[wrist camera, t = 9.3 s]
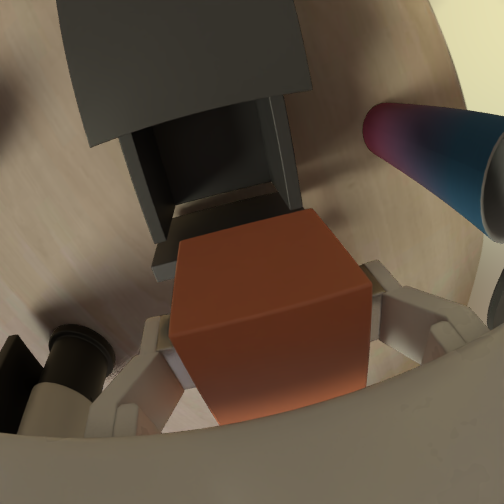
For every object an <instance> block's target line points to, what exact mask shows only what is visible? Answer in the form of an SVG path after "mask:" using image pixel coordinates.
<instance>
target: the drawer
mask: <svg viewBox="0 0 504 504" xmlns="http://www.w3.org/2000/svg"><path fill="white" fill-rule="evenodd" d="M118 138H119V142H120V145H121V148H122V152H123V155H124V158H125V161H126V164H127V167H128V170H129V174H130V177H131V180H132V183H133V186H134V189H135V191H136V194H137V197H138V200H139V203H140V206H141V209H142V212H143V214H144V217H145V220H146V223H147V225H148V228H149V231H150V233H151V236H152V239H153V241H154V244H157V243H158V244H157V248H156V251H155V255H154V259H153V262H152V266H151V268H152V271H153V273H154V275H155V278H156V280H157V282H161V281H166V280H170V279H174V278H175V271H176V264H177V256H178V249H179V242H180V241H182V240H186V239H190V238H194V237H197V236H201V235H205V234H209V233H213V232H217V231H220V230H224V229H228V228H232V227H236V226H240V225H244V224H248V223H252V222H256V221H260V220H264V219H268V218H272V217H276V216H281V215H285V214H289V213H293V212H297V211H301V210H305V209H304V208H303V207H302V199H301V192H300V186H299V180H298V174H297V167H296V162H295V156H294V150H293V144H292V138H291V133H290V127H289V122H288V117H287V111H286V106H285V101H284V96H283V95H278V96H272V97H267V98H262V99H256V100H251V101H246V102H242V103H237V104H232V105H228V106H224V107H219V108H215V109H211V110H207V111H203V112H199V113H195V114H192V115H188V116H184V117H181V118H177V119H174V120H170V121H167V122H163V123H160V124H157V125H154V126H150V127H147V128H144V129H141V130H138V131H135V132H132V133H129V134H126V135H123V136H121V137H118ZM267 182H272V183H273V185H274V186H275V188H276V189H277V191H278V192H276V193H272V194H267V195H263V196H259V197H255V198H250V199H246V200H242V201H238V202H234V203H230V204H226V205H222V206H218V207H214V208H210V209H206V210H202V211H198V212H194V213H191V214H187V215H183V216H179V217H175V218H172V217H173V213H174V209H175V205H179V204H182V203H186V202H190V201H193V200H197V199H201V198H205V197H209V196H213V195H217V194H221V193H225V192H229V191H233V190H237V189H241V188H245V187H249V186H254V185H258V184H262V183H267Z"/></svg>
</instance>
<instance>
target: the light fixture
mask: <svg viewBox="0 0 504 504" xmlns="http://www.w3.org/2000/svg"><path fill="white" fill-rule="evenodd" d="M49 351H50V354H49V356H48V359H47V361H46V364H45V366H44V368H43V367H42V366H41V365H40V363H39V362H38V361H37V359H36V358H35V357H34V356H33V354H32V353H31V352H30V350H29V349H28V348H27V346H26V345H25V344H24V342H23V341H22V340H21V338H20V337H19V335H12V336H9V337H8V338H7V340H6V342H5V344H4V346H3V347H2V349H1V351H0V433H7V434H17V435H28V436H42V437H67V438H84V432H85V427H86V423H87V418H88V413H89V409H90V405H91V404H92V403H93V402H94V401H95V400H96V399H97V397H98V396H99V395H100V394H101V393H102V389H103V385H104V381H105V378H106V377H107V376H109V375H110V374H111V372H112V370H113V367H114V363H115V355H114V351H113V349H112V347H111V346H110V344H109V343H108V342H107V341H106V340H105V339H104V338H103V337H102V336H100V335H99V334H98V333H96V332H95V331H93V330H91V329H89V328H86V327H83V326H80V325H74V324H67V325H62V326H60V327H58V328H57V329H55V330H54V332H53V334H52V336H51V338H50V340H49Z"/></svg>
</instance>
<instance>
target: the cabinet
mask: <svg viewBox="0 0 504 504" xmlns="http://www.w3.org/2000/svg"><path fill="white" fill-rule="evenodd" d="M56 3H57V10H58V16H59V23H60V28H61V34H62V39H63V44H64V49H65V54H66V59H67V64H68V68H69V72H70V77H71V81H72V85H73V89H74V93H75V97H76V101H77V104H78V108H79V112H80V115H81V119H82V122H83V126H84V129H85V133H86V136H87V139H88V143H89V146H90V148H91V147H94V146H96V145H99V144H102V143H104V142H107V141H110V140H112V139H115V138H118V137H121V136H123V135H126V134H129V133H132V132H135V131H138V130H141V129H144V128H147V127H150V126H154V125H157V124H160V123H163V122H167V121H170V120H174V119H177V118H181V117H184V116H188V115H192V114H195V113H199V112H203V111H207V110H211V109H215V108H219V107H224V106H228V105H232V104H237V103H242V102H246V101H251V100H256V99H262V98H267V97H272V96H278V95H284V94H290V93H297V92H304V91H311V90H313V88H312V83H311V78H310V73H309V68H308V63H307V58H306V53H305V48H304V43H303V39H302V34H301V30H300V26H299V21H298V17H297V13H296V9H295V5H294V1H293V0H56Z"/></svg>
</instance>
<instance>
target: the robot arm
mask: <svg viewBox="0 0 504 504" xmlns="http://www.w3.org/2000/svg"><path fill="white" fill-rule="evenodd" d="M359 267H360V268H361V269H362V270H363V272H364V273H365V274H366V276H367V277H368V278H369V280H370V281H371V282H372V317H371V335H370V342H371V341H374V340H377V339H379V340H380V341H382V342H383V343H385V344H387V345H388V346H390V347H392V348H393V349H395V350H397V351H398V352H400V353H402V354H403V355H405V356H407V357H409V358H410V359H412V360H414V361H415V362H417V363H419V364H420V365H421V366H418V367H416V368H414V369H411V370H409V371H407V372H404V373H402V374H399V375H397V376H394V377H392V378H389V379H387V380H384V381H382V382H379V383H376V384H374V385H371V386H368V387H365V388H362V389H360V390H357V391H354V392H351V393H348V394H345V395H342V396H339V397H336V398H332V399H329V400H326V401H323V402H319V403H316V404H312V405H309V406H305V407H302V408H298V409H294V410H290V411H286V412H282V413H278V414H274V415H270V416H266V417H261V418H257V419H252V420H247V421H242V422H237V423H232V424H226V425H221V426H215V427H209V428H202V429H196V430H188V431H181V432H172V433H163V434H162V433H161V431H162V429H163V428H164V426H165V424H166V422H167V421H168V419H169V417H170V415H171V414H172V412H173V410H174V409H175V407H176V405H177V403H178V402H179V400H180V398H181V396H182V395H183V393H184V390H185V389H190V388H195V387H196V386H195V384H194V382H193V381H192V379H191V377H190V375H189V374H188V372H187V370H186V368H185V366H184V365H183V363H182V361H181V359H180V357H179V355H178V354H177V352H176V350H175V348H174V346H173V344H172V342H171V340H170V339H169V337H168V335H169V324H170V314H171V313H170V314H165V315H162V316H161V315H160V316H156V317H151V318H147V320H146V321H145V325H144V330H143V336H142V341H141V347H140V352H139V355H135V356H134V357H133V358H132V359H131V360H130V362H129V363H128V364H127V365H126V366H125V367H124V368H123V369H122V371H121V372H120V373H119V374H118V375H117V376H116V377H115V378H114V379H113V381H112V382H111V383H110V384H109V385H108V386H107V387H106V388H105V390H104V391H103V392H102V393H101V394H100V395H99V396H98V397H97V399H96V400H95V401H94V402H93V403H92V404H91V405H90V409H89V413H88V418H87V423H86V427H85V432H84V438H67V437H42V436H28V435H17V434H7V433H0V504H504V323H503V324H501V325H499V326H498V327H496V328H494V329H493V330H491V331H490V330H489V328H488V327H487V326H486V325H485V324H484V323H483V322H482V321H481V319H480V318H479V317H478V316H477V315H476V314H475V313H474V312H473V311H472V310H471V308H470V307H467V306H464V305H461V304H458V303H456V302H453V301H450V300H447V299H444V298H441V297H438V296H435V295H432V294H429V293H426V292H424V291H421V290H418V289H415V288H412V287H409V286H404V287H402V286H401V285H400V284H399V283H398V281H397V280H396V279H395V278H394V277H393V276H392V275H391V273H390V272H389V271H388V270H387V269H386V268H385V267H384V266H383V264H382V263H381V262H380V261H379V260H374V261H371V262H367V263H364V264H362V265H360V266H359Z"/></svg>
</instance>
